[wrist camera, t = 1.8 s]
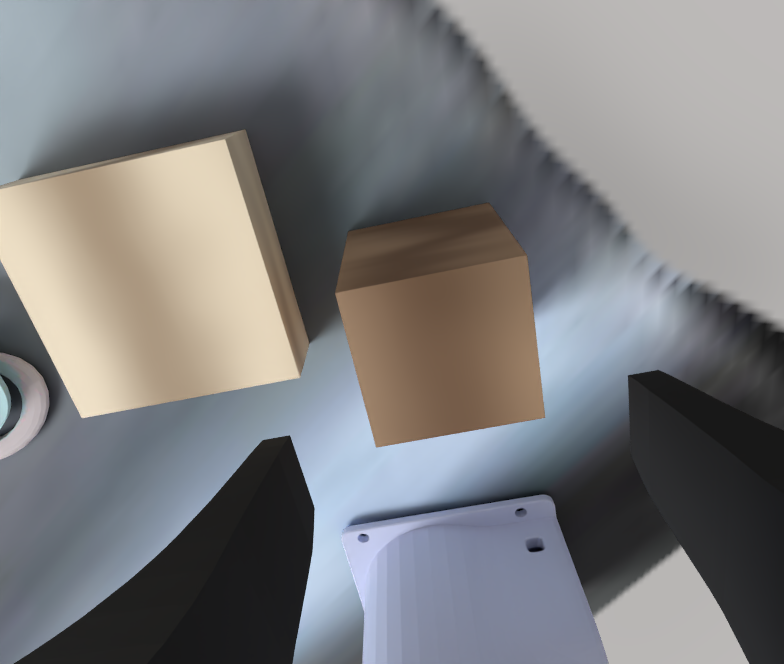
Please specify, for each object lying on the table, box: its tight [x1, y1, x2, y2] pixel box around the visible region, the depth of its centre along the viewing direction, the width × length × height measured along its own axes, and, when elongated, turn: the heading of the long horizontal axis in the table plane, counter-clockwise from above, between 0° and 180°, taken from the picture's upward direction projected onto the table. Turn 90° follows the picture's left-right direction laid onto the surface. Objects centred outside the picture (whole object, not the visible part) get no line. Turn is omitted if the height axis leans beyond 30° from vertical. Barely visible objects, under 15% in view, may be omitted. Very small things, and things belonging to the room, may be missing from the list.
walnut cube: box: [335, 203, 545, 447], centre depth 19 cm, size 5×5×6 cm
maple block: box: [0, 129, 309, 418], centre depth 20 cm, size 8×8×3 cm
